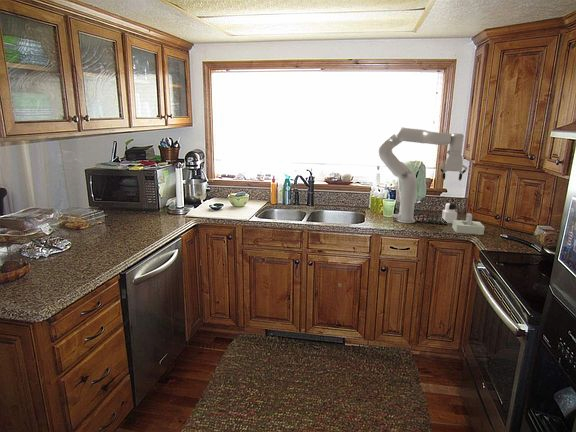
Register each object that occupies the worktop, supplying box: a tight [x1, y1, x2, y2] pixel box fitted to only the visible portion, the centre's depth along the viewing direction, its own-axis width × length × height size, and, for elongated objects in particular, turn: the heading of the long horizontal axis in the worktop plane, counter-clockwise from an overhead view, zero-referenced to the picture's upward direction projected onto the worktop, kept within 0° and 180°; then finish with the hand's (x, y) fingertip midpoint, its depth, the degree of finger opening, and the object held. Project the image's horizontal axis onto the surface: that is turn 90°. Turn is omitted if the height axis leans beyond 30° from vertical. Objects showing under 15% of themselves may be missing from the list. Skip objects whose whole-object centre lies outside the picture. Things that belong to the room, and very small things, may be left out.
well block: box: [451, 219, 486, 236], centre depth 252 cm, size 16×13×5 cm
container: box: [441, 202, 458, 224], centre depth 272 cm, size 8×8×13 cm
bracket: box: [465, 212, 473, 225], centre depth 252 cm, size 5×6×11 cm
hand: (451, 179), depth 259 cm, fingers open, 9 cm apart
